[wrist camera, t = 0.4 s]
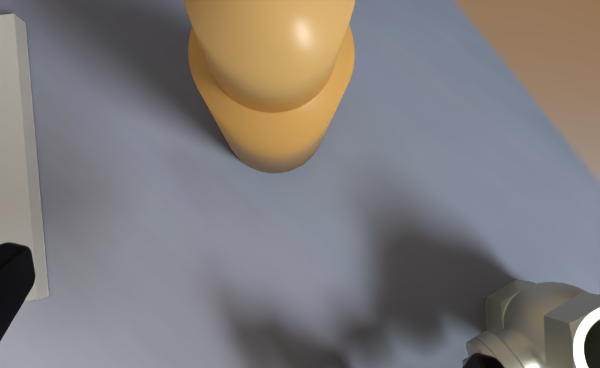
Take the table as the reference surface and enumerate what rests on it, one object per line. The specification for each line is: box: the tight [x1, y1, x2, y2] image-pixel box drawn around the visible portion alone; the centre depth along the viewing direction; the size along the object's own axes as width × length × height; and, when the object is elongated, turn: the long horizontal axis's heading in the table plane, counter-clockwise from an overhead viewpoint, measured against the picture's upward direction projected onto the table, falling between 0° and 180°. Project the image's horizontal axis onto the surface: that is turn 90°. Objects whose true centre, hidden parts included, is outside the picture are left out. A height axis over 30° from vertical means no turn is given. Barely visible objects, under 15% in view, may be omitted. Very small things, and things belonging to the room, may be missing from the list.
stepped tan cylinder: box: [184, 0, 355, 173], centre depth 16 cm, size 5×5×12 cm
